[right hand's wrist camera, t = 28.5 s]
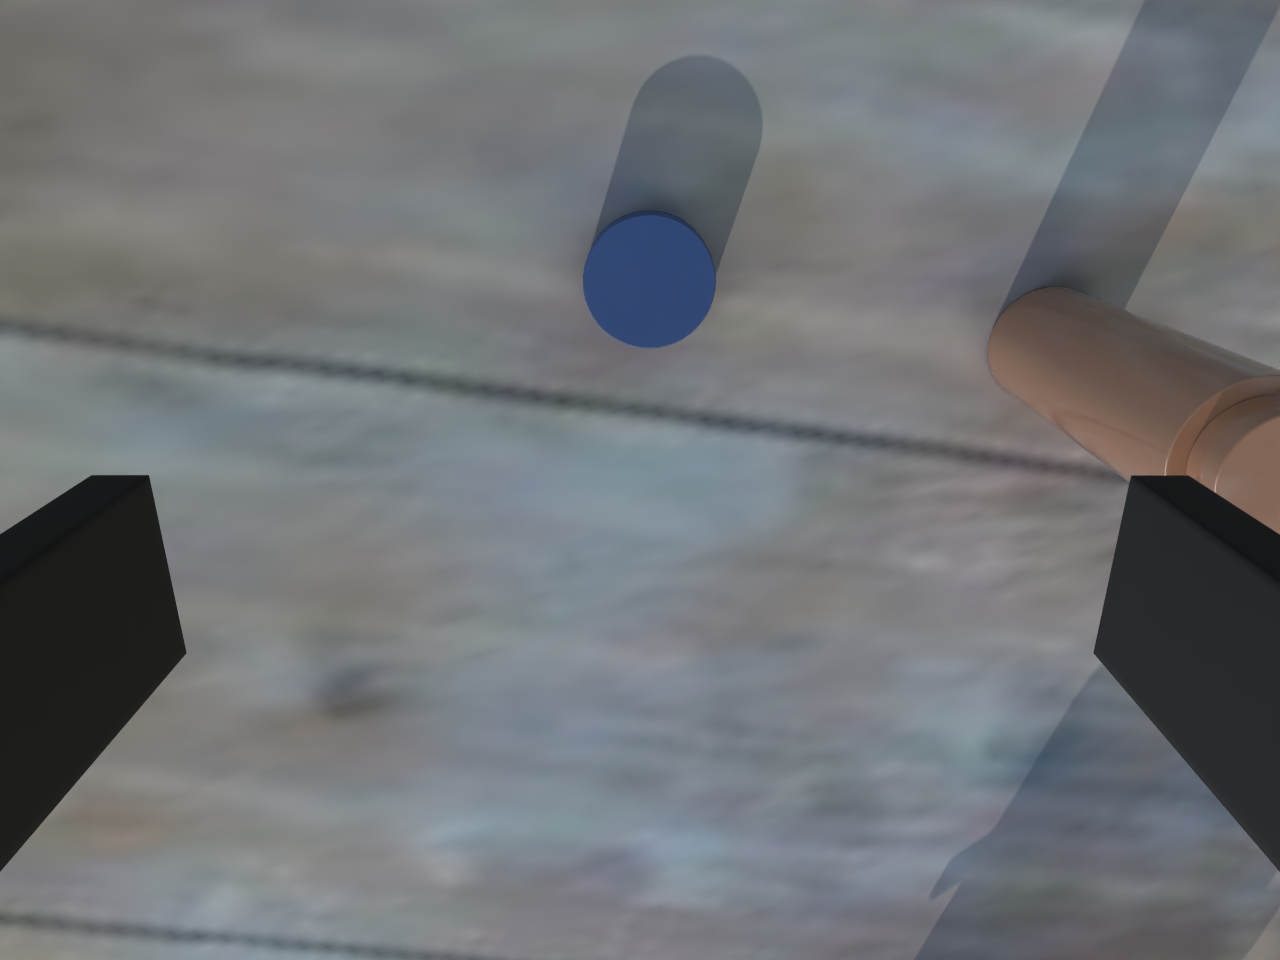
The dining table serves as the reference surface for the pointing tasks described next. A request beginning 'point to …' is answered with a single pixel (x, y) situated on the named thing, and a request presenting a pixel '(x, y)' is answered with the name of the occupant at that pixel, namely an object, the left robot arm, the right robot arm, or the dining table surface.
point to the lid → (649, 279)
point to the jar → (1144, 395)
